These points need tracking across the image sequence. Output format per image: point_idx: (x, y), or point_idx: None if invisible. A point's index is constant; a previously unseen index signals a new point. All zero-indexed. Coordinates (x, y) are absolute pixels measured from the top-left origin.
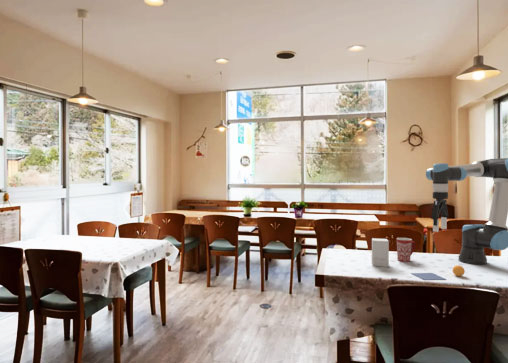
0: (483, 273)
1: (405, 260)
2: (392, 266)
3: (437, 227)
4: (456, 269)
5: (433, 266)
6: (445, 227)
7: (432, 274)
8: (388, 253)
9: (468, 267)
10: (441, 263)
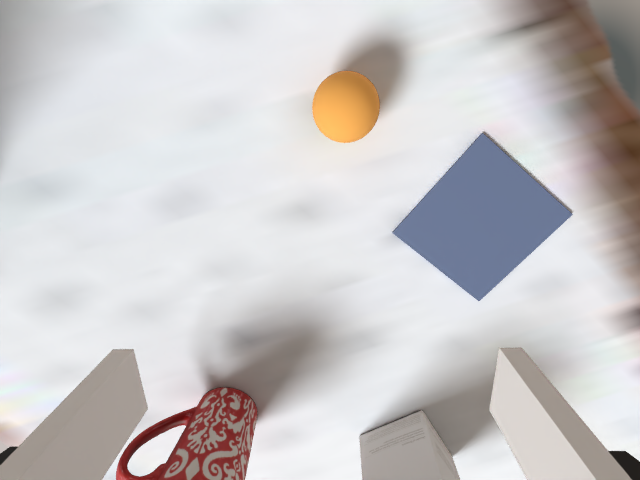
0: (157, 13)
1: (248, 401)
2: (394, 402)
3: (561, 410)
4: (378, 110)
5: (232, 275)
6: (120, 375)
7: (427, 219)
8: (440, 472)
9: (83, 131)
10: (125, 269)
